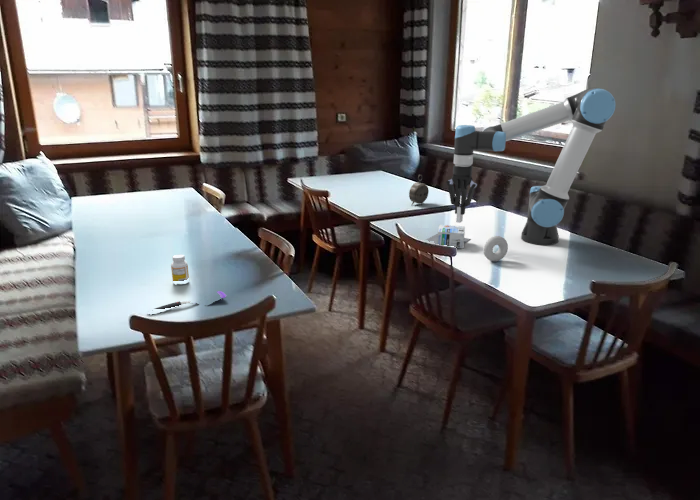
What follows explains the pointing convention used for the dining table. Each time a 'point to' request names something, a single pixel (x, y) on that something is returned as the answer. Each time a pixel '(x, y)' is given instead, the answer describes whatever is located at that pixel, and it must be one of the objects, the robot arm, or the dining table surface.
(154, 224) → the dining table surface
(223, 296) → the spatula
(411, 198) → the alarm clock
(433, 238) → the mat
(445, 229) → the light bulb box
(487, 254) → the donut
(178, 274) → the supplement bottle
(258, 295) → the dining table surface
